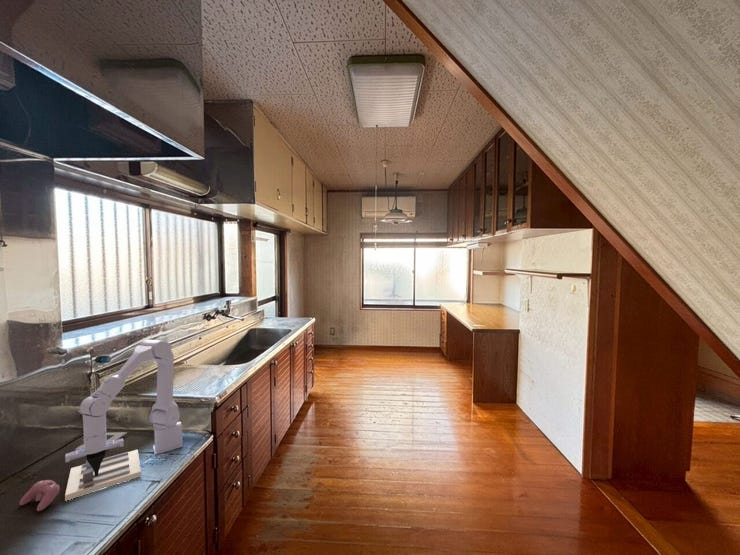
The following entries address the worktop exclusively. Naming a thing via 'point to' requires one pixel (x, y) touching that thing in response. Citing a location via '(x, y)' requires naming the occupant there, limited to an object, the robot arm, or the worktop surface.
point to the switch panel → (104, 474)
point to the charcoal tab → (88, 476)
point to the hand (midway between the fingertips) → (96, 474)
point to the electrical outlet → (109, 437)
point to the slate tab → (88, 465)
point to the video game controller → (41, 493)
